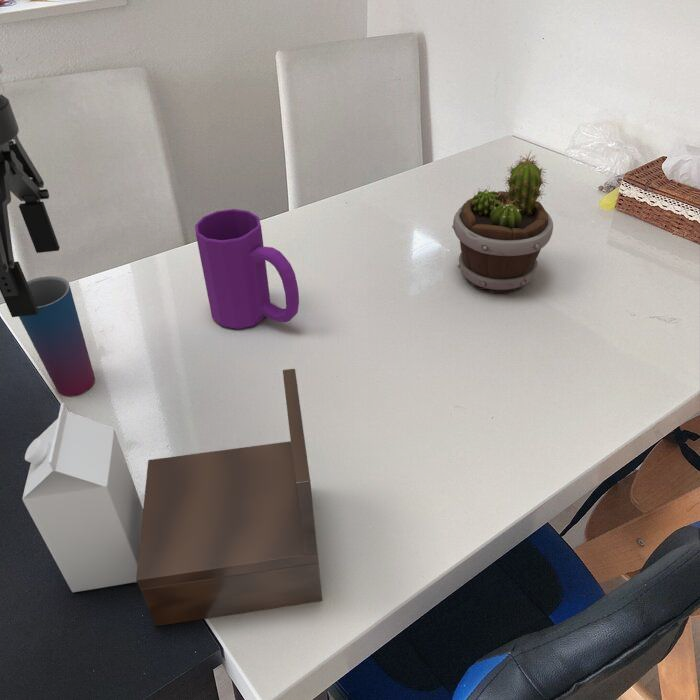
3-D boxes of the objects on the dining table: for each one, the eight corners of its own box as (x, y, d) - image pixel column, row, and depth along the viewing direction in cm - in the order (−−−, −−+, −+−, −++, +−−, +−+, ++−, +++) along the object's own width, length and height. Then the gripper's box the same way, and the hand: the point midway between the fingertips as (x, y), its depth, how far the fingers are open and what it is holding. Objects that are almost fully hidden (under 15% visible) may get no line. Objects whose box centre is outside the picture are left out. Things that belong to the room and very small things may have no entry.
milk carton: (149, 523, 73) (103, 396, 61) (145, 582, 68) (94, 455, 56) (81, 534, 73) (21, 408, 60) (72, 594, 67) (4, 468, 55)
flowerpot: (483, 314, 101) (498, 190, 88) (432, 264, 111) (439, 147, 99) (563, 289, 105) (589, 167, 92) (506, 243, 116) (522, 129, 103)
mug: (237, 288, 108) (223, 202, 98) (318, 317, 101) (312, 228, 92) (198, 319, 102) (179, 230, 92) (282, 352, 95) (271, 260, 86)
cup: (38, 388, 91) (-2, 296, 81) (80, 360, 95) (46, 270, 85) (71, 408, 88) (33, 315, 78) (112, 378, 92) (81, 286, 82)
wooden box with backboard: (155, 626, 64) (106, 509, 53) (163, 507, 75) (124, 388, 64) (322, 600, 66) (310, 481, 54) (307, 487, 77) (294, 368, 65)
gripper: (-29, 149, 58) (50, 341, 72) (31, 59, 77) (85, 225, 91) (-121, 158, 57) (-24, 350, 71) (-38, 65, 76) (27, 231, 90)
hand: (37, 280), depth 81 cm, fingers open, 13 cm apart
